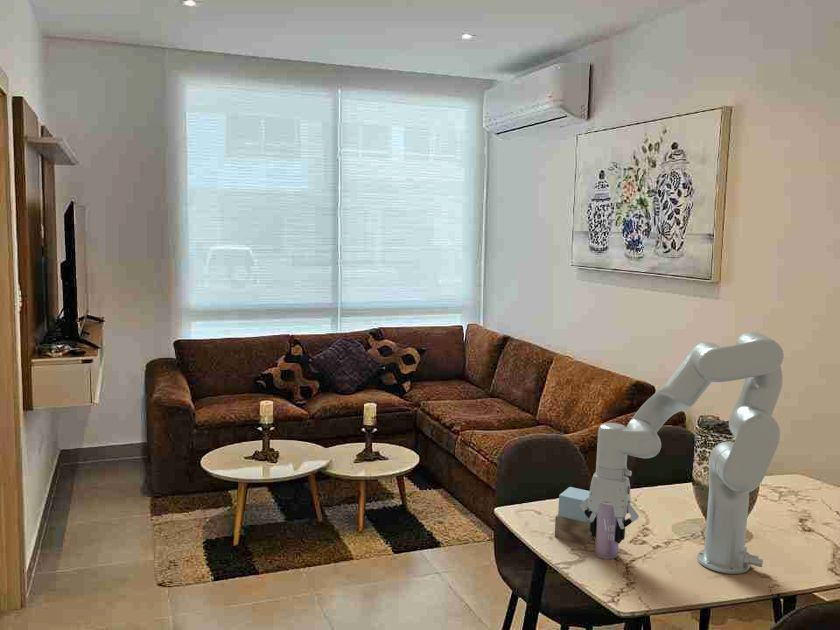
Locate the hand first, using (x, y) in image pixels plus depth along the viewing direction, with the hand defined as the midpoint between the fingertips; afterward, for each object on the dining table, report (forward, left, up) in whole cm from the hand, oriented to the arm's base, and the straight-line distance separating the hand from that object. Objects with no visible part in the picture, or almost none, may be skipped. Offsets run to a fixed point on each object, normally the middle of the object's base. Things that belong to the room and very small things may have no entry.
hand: (606, 537), depth 200 cm
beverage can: (0, 0, -5) cm, 5 cm away
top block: (+11, -8, +1) cm, 13 cm away
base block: (+11, -8, -5) cm, 14 cm away
